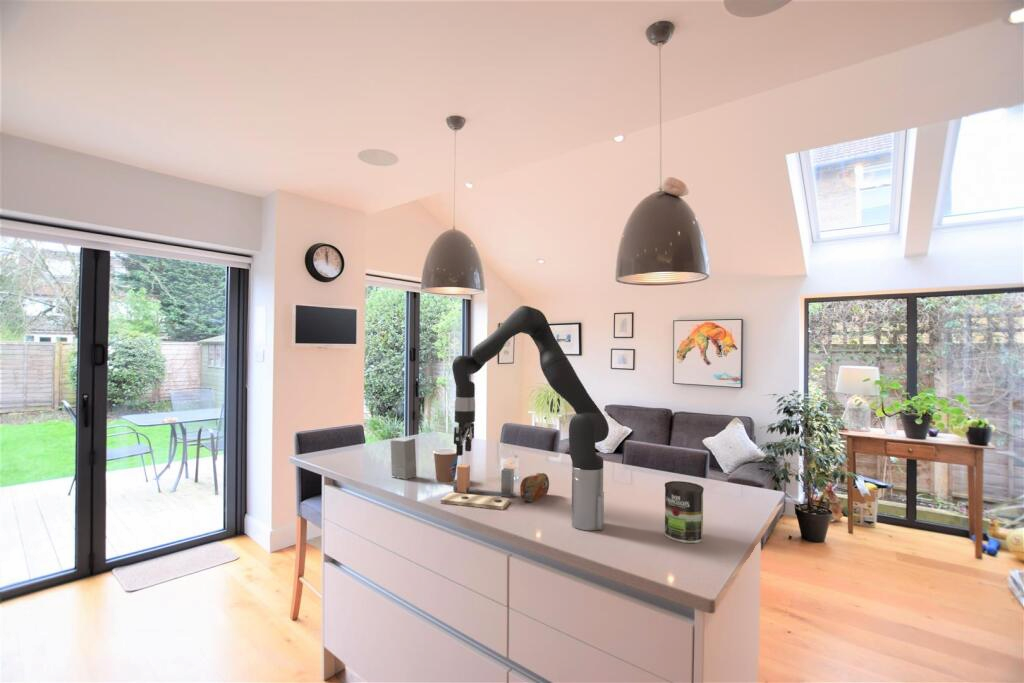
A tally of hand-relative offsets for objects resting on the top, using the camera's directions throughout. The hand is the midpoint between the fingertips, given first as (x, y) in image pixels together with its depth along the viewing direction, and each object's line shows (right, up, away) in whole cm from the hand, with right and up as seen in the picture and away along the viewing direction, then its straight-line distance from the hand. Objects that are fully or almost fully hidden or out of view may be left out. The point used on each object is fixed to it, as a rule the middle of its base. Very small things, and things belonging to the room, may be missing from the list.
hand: (463, 453), depth 171 cm
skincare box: (-27, -15, +18) cm, 36 cm away
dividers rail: (+8, -14, -3) cm, 17 cm away
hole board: (+5, -14, -14) cm, 20 cm away
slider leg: (0, -14, -1) cm, 14 cm away
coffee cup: (-9, -15, +13) cm, 22 cm away
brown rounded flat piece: (+26, -14, -8) cm, 31 cm away
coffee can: (+66, -14, -42) cm, 79 cm away
